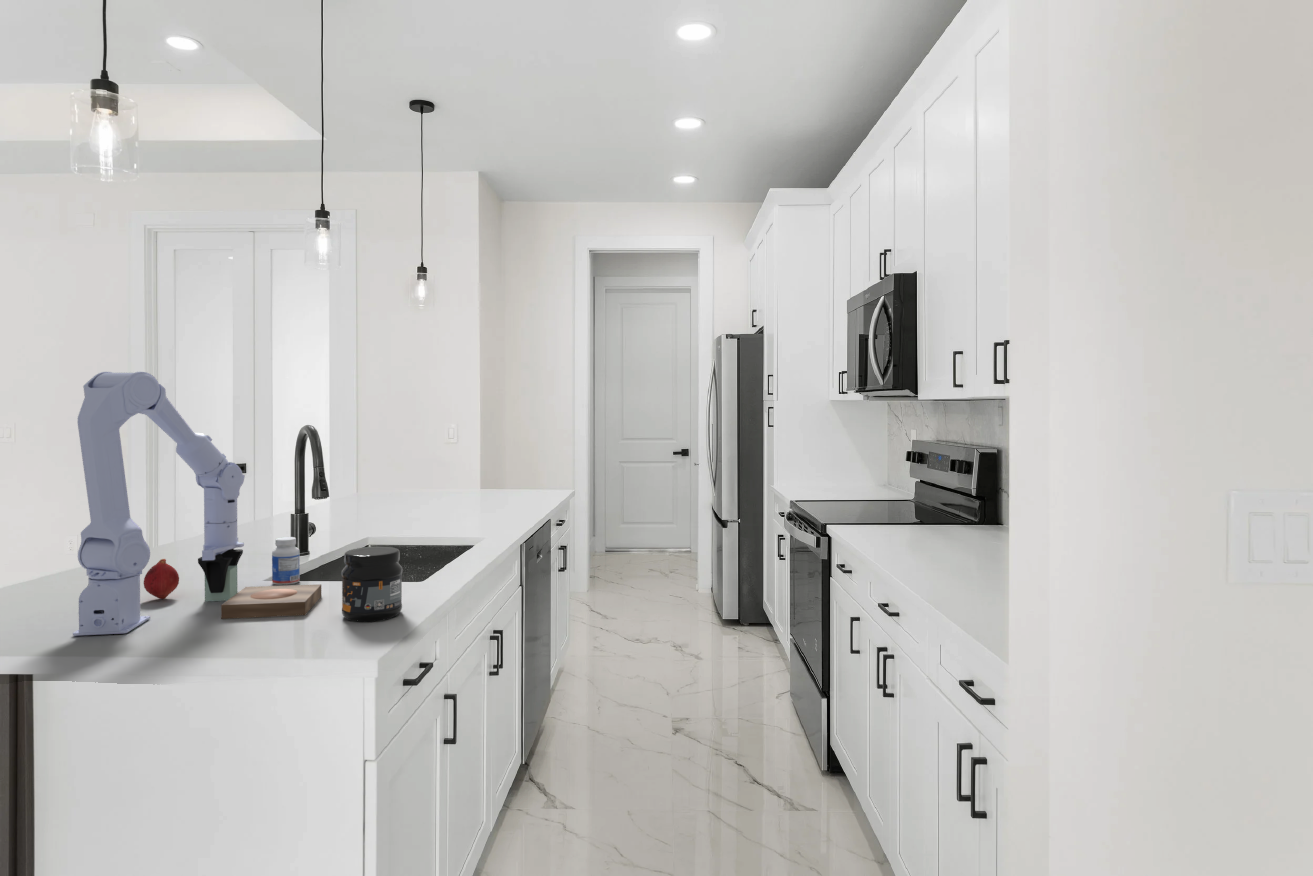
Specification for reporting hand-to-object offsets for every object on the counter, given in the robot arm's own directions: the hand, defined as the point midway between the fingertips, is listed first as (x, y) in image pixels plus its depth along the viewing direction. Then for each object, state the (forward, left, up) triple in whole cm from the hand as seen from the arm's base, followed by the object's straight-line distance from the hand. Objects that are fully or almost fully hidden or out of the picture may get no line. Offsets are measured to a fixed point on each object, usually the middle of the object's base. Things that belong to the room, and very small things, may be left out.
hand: (221, 589), depth 149 cm
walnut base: (-9, -12, -2) cm, 15 cm away
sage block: (0, 0, -2) cm, 2 cm away
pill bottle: (+12, -9, -2) cm, 15 cm away
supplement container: (-18, -31, -2) cm, 36 cm away
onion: (+1, +11, -2) cm, 11 cm away
